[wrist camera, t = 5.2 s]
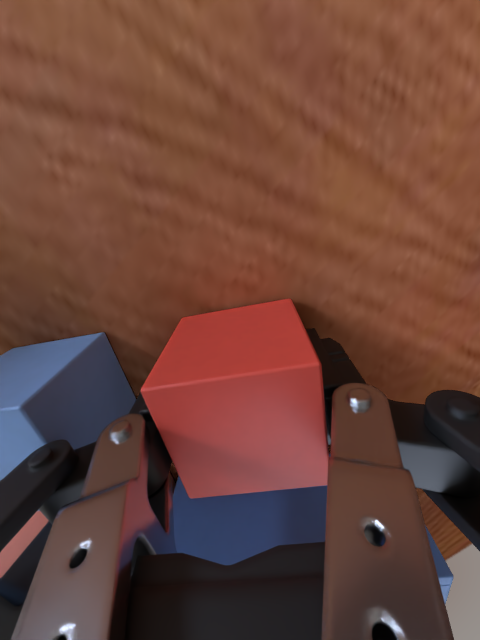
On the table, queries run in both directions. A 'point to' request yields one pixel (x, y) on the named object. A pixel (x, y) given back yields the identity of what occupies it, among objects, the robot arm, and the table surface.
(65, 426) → the blue block
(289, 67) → the table surface
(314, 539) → the blue bin
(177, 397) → the red block
